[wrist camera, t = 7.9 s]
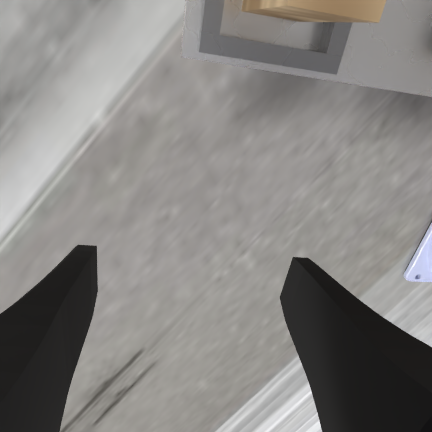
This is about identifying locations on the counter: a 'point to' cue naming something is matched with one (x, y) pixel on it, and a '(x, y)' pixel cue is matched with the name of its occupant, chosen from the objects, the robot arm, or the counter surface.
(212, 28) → the rail
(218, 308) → the counter surface
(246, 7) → the block
